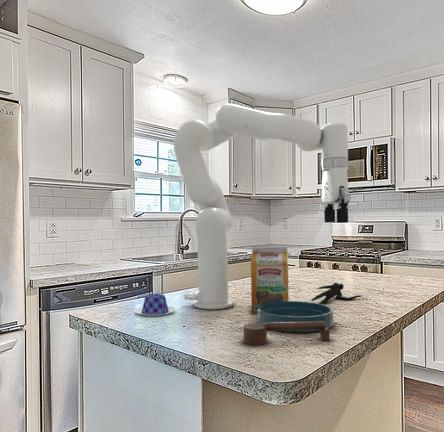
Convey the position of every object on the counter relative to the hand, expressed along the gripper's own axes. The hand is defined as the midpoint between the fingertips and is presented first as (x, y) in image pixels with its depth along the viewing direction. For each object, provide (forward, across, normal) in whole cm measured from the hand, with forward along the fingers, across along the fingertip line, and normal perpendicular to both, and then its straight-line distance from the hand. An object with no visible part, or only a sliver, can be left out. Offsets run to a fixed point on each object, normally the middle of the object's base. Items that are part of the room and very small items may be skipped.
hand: (335, 222), depth 123 cm
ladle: (+26, +28, -23) cm, 45 cm away
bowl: (+26, +13, -17) cm, 34 cm away
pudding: (+26, -5, -54) cm, 61 cm away
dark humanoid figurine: (+27, -11, +4) cm, 29 cm away
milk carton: (+26, -4, -19) cm, 33 cm away
